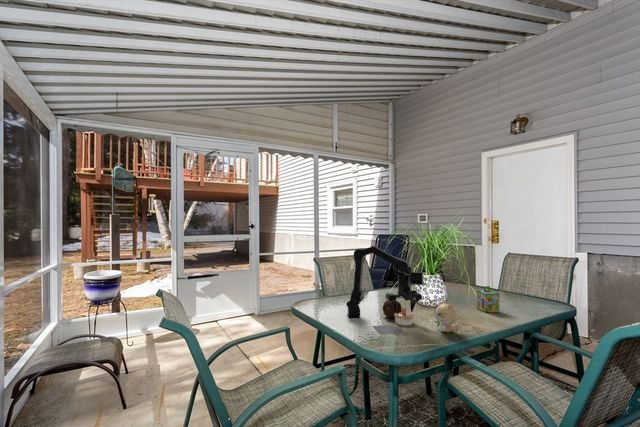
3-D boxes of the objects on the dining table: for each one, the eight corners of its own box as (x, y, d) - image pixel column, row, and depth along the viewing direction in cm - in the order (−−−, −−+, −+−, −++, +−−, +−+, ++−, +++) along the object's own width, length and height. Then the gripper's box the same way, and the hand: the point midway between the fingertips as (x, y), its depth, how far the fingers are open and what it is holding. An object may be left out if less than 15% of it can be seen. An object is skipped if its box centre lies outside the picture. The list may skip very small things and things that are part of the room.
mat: (379, 335, 152) (379, 334, 152) (372, 327, 164) (372, 326, 164) (403, 334, 154) (403, 332, 154) (393, 325, 166) (393, 324, 166)
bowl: (399, 326, 165) (399, 319, 165) (392, 321, 173) (392, 313, 174) (415, 325, 166) (415, 318, 166) (408, 320, 175) (408, 313, 175)
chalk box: (486, 313, 187) (486, 288, 188) (476, 309, 196) (476, 285, 197) (500, 312, 189) (499, 287, 189) (489, 308, 198) (488, 284, 198)
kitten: (429, 326, 165) (429, 297, 166) (447, 325, 166) (447, 297, 166) (442, 336, 150) (442, 305, 151) (462, 336, 151) (462, 305, 151)
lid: (398, 319, 164) (398, 311, 164) (391, 313, 174) (391, 305, 174) (417, 318, 165) (417, 310, 166) (408, 312, 176) (408, 304, 176)
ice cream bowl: (402, 316, 185) (402, 321, 171) (383, 315, 188) (381, 319, 174) (402, 298, 187) (402, 301, 172) (383, 297, 190) (381, 299, 175)
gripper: (392, 287, 161) (393, 317, 160) (426, 286, 164) (427, 316, 163) (385, 282, 172) (385, 311, 171) (417, 281, 175) (417, 309, 174)
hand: (403, 312), depth 170 cm, fingers open, 9 cm apart
